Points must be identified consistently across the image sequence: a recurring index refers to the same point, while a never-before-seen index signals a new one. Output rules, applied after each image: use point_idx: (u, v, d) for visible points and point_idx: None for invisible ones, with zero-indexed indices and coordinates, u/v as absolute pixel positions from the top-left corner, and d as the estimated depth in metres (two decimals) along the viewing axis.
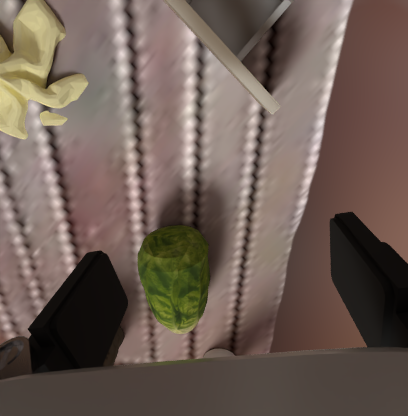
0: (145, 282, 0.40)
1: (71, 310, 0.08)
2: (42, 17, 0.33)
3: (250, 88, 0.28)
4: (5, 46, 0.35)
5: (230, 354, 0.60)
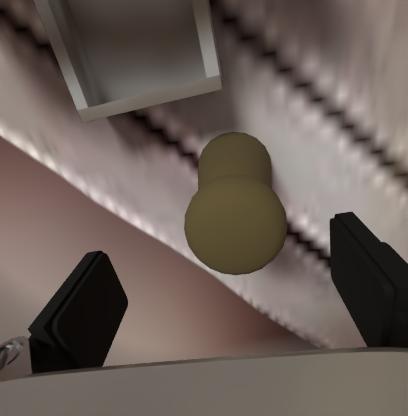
0: None
1: (71, 310, 0.08)
2: None
3: None
4: None
5: None
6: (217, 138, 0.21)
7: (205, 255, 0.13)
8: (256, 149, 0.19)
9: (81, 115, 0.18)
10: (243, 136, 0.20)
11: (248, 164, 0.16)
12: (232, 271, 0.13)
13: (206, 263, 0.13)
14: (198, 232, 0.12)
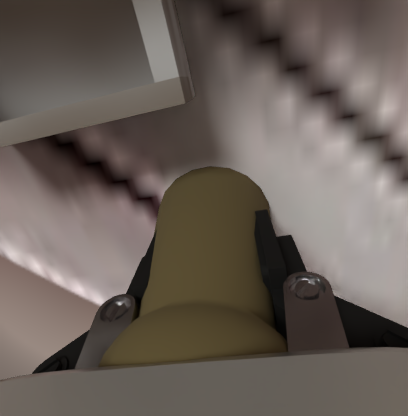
0: None
1: None
2: None
3: None
4: None
5: None
6: (185, 177, 0.13)
7: None
8: (247, 201, 0.11)
9: None
10: (226, 175, 0.12)
11: (232, 247, 0.08)
12: None
13: None
14: None
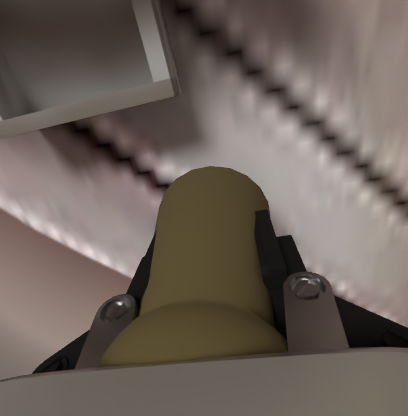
0: None
1: None
2: None
3: None
4: None
5: None
6: (185, 177, 0.13)
7: None
8: (246, 201, 0.11)
9: None
10: (226, 175, 0.12)
11: (231, 246, 0.08)
12: None
13: None
14: None
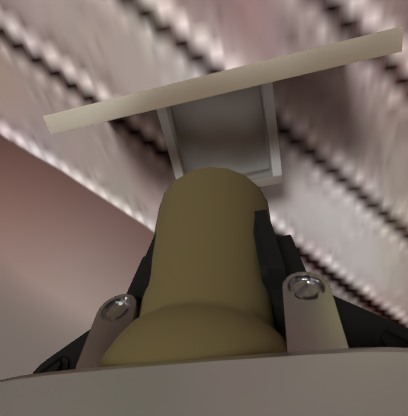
0: None
1: None
2: None
3: (93, 106, 0.17)
4: None
5: None
6: (184, 178, 0.13)
7: None
8: (245, 201, 0.11)
9: None
10: (224, 175, 0.12)
11: (230, 247, 0.08)
12: None
13: None
14: None
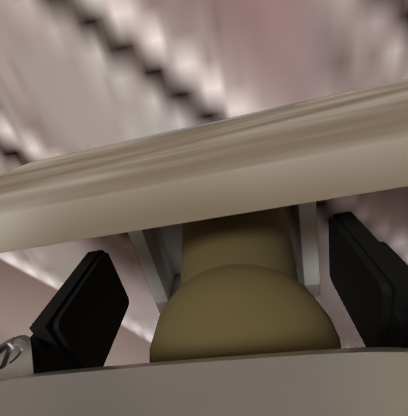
0: None
1: (72, 309, 0.09)
2: None
3: None
4: None
5: None
6: None
7: None
8: None
9: (160, 307, 0.16)
10: None
11: (253, 223, 0.10)
12: None
13: None
14: None
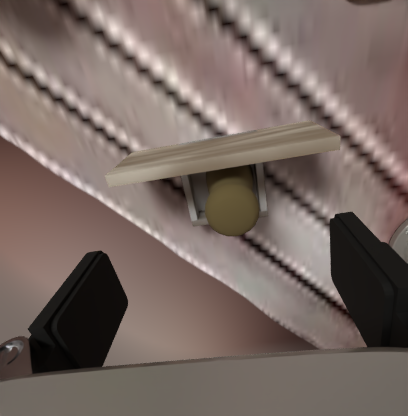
0: None
1: (71, 310, 0.08)
2: None
3: (141, 171, 0.26)
4: None
5: None
6: None
7: (218, 226, 0.25)
8: None
9: (193, 223, 0.34)
10: None
11: (236, 175, 0.28)
12: (232, 234, 0.25)
13: (218, 231, 0.25)
14: (213, 214, 0.24)
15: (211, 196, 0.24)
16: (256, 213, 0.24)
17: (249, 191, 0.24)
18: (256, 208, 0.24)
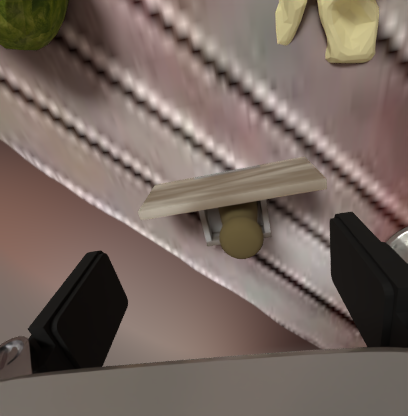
0: None
1: (71, 310, 0.08)
2: (353, 50, 0.30)
3: (167, 208, 0.32)
4: None
5: None
6: None
7: (230, 251, 0.31)
8: None
9: (207, 243, 0.40)
10: None
11: (244, 207, 0.34)
12: (242, 257, 0.31)
13: (231, 255, 0.31)
14: (226, 242, 0.30)
15: (224, 227, 0.31)
16: (261, 241, 0.30)
17: (255, 223, 0.30)
18: (261, 237, 0.30)
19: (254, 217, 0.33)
